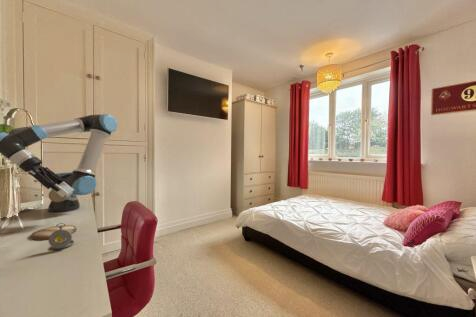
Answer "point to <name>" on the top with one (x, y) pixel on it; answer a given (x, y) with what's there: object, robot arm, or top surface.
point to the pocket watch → (61, 238)
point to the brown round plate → (50, 232)
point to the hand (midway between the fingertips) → (68, 193)
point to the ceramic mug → (57, 198)
